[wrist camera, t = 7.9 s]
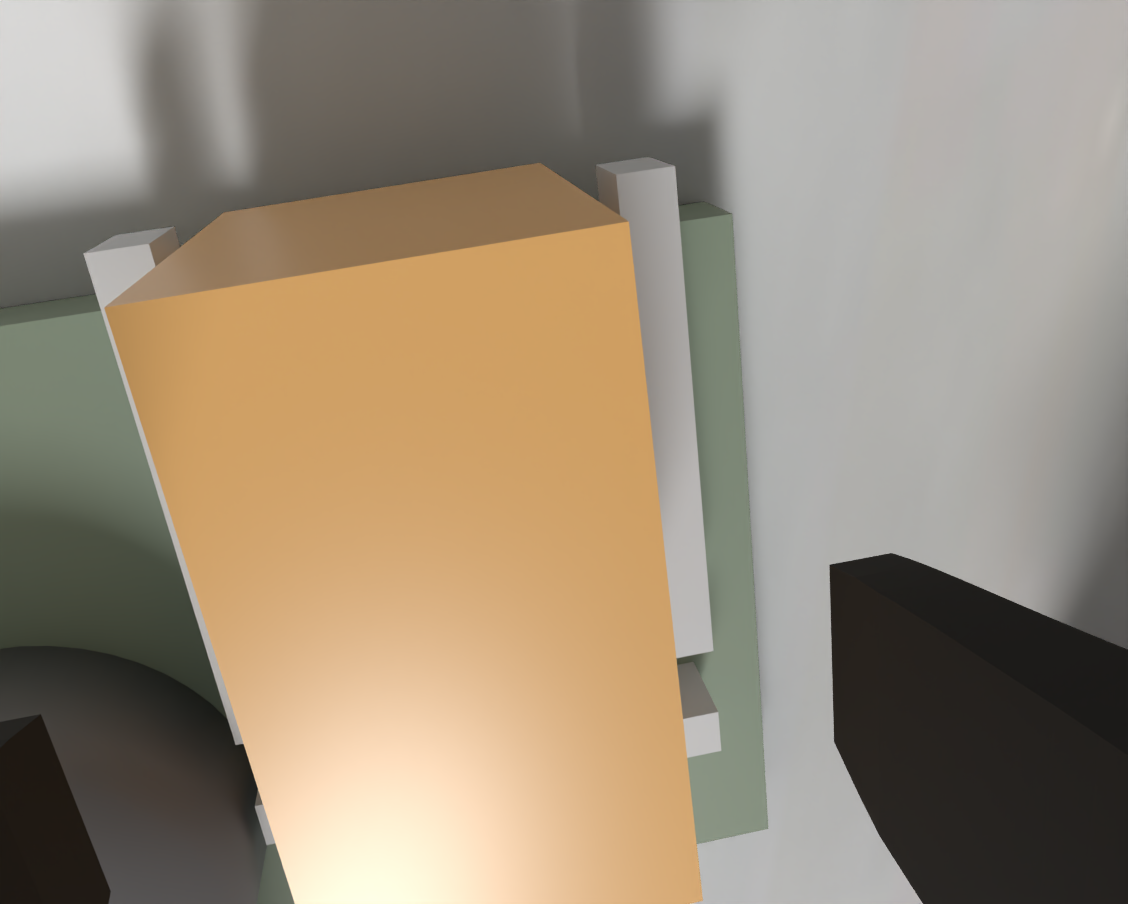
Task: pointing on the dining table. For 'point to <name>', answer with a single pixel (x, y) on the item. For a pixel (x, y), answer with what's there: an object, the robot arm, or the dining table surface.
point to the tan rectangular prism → (428, 537)
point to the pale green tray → (173, 616)
